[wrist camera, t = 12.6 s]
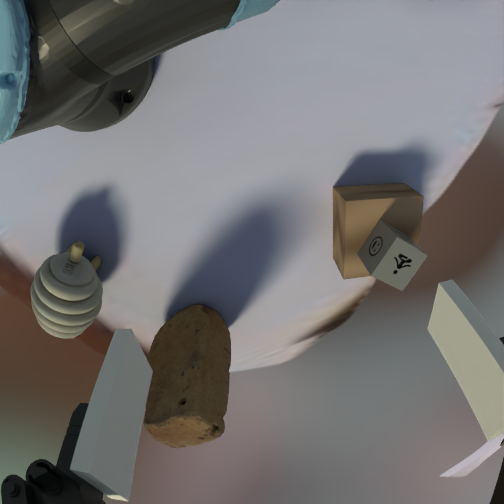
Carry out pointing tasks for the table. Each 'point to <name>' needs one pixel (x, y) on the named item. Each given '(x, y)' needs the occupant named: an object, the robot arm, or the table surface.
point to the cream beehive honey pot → (67, 292)
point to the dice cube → (391, 255)
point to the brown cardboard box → (370, 219)
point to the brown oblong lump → (189, 378)
